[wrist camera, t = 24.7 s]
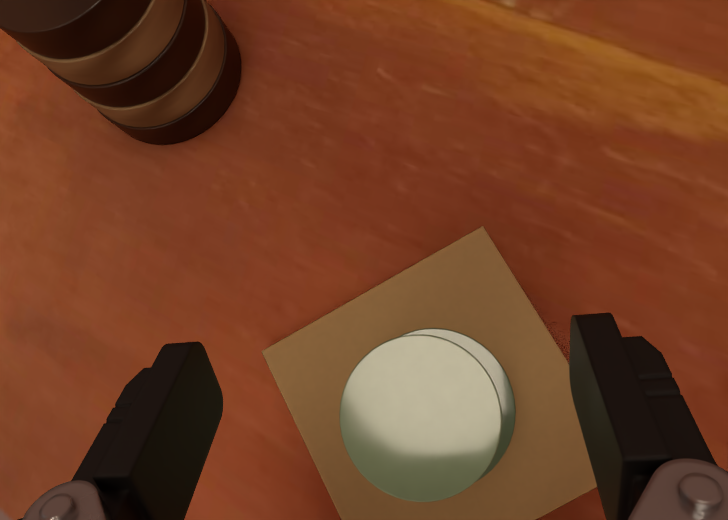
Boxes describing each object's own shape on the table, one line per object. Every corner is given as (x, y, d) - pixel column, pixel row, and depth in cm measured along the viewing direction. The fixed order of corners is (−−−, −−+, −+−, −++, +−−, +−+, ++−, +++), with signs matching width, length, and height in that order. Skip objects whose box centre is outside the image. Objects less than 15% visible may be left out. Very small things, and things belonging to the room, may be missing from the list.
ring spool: (405, 516, 26) (374, 576, 18) (334, 375, 28) (276, 370, 19) (544, 441, 25) (579, 467, 17) (463, 302, 27) (459, 266, 19)
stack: (137, 171, 32) (-7, 79, 22) (85, 58, 34) (-66, -70, 25) (265, 95, 32) (175, -32, 22) (205, -15, 34) (98, -174, 24)
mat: (381, 599, 26) (380, 602, 25) (263, 351, 29) (261, 351, 28) (631, 466, 25) (633, 467, 25) (482, 227, 28) (482, 225, 28)
